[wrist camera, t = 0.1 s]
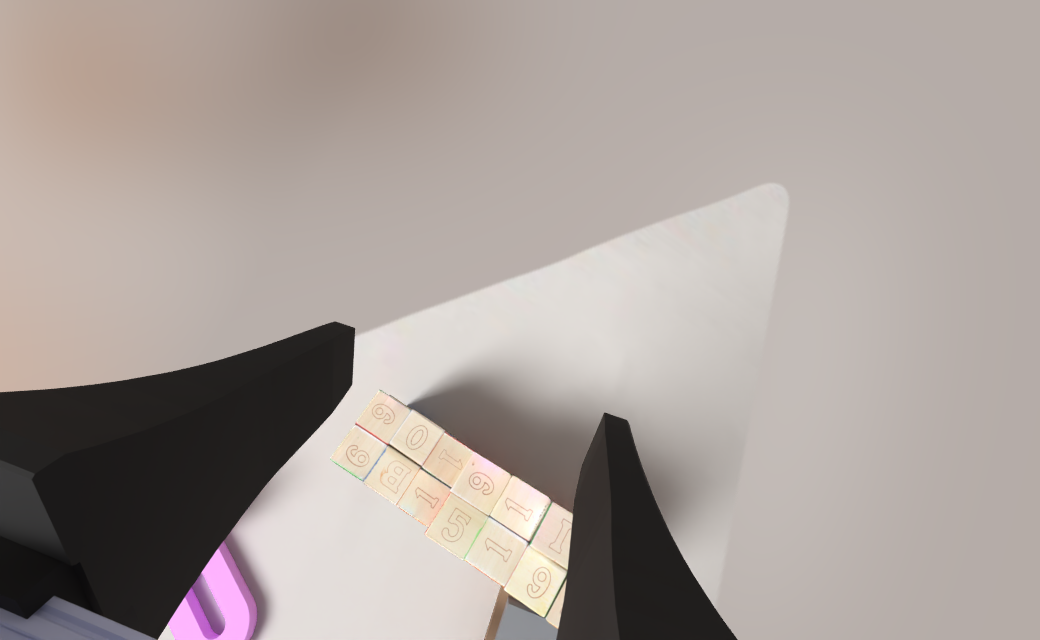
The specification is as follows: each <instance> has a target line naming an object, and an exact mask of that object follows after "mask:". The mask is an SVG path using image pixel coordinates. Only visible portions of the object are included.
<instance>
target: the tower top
mask: <svg viewBox="0 0 1040 640" xmlns="http://www.w3.org/2000/svg"><path fill="white" fill-rule="evenodd" d="M557 633H558V629H557V628H556V627H554V626H553V625H552V624H550V623H549V622H548V621H547V620H546V619H545V618H544V617H542V616H540V615H539V614H537V613H536V612H534V611H533V610H532V609H530V608H529V607H527V606H526V605H525V604H523V603H522V602H520V601H519V600H517V599H514V598H512V597H509V596H508V599H507V602H506V605H505V608H504V611H503V614H502V617H501V620H500V623H499V627H498V630H497V633H496V636H495V639H494V640H556V638H557Z"/></svg>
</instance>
